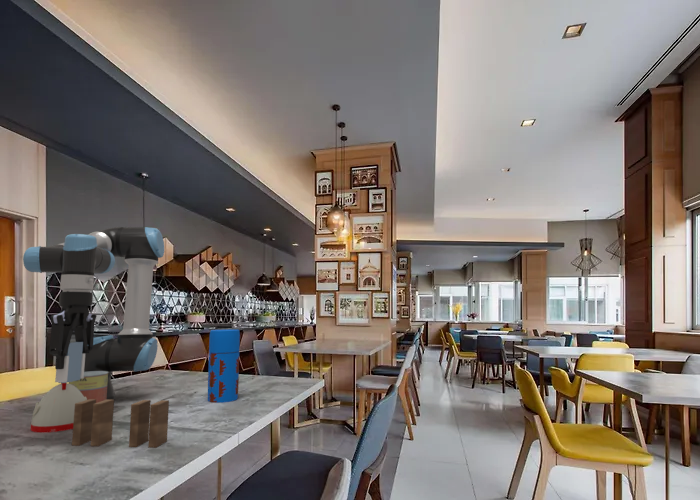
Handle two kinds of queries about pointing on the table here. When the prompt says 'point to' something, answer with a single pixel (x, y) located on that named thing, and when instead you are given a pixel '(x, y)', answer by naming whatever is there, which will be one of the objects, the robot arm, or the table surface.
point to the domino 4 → (139, 423)
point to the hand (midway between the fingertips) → (69, 379)
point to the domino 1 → (74, 361)
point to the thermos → (223, 366)
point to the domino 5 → (158, 423)
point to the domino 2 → (82, 422)
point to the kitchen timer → (56, 409)
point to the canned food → (93, 385)
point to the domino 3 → (102, 422)
